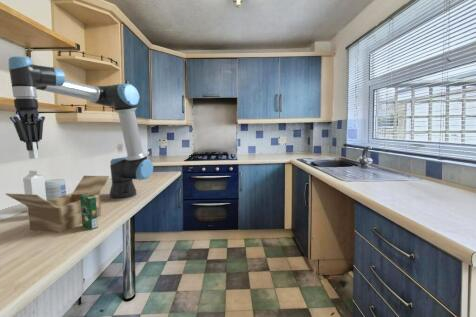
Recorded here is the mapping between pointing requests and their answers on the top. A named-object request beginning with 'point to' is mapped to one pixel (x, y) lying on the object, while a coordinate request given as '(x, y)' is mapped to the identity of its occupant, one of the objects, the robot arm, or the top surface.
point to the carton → (60, 213)
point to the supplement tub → (55, 188)
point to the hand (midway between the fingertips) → (33, 158)
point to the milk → (34, 185)
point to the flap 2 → (91, 184)
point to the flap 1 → (31, 200)
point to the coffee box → (89, 211)
